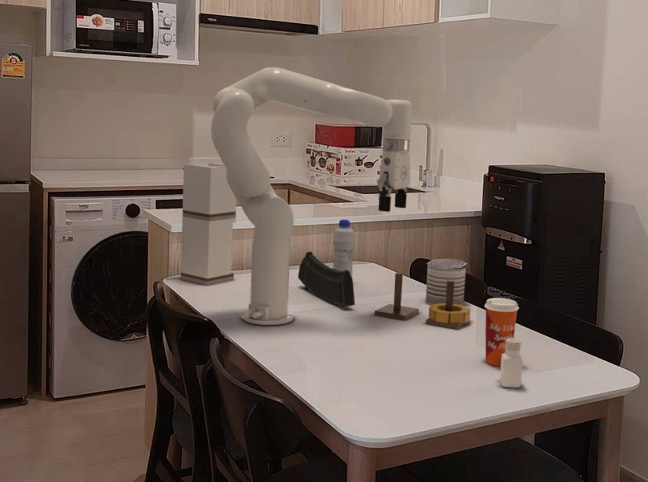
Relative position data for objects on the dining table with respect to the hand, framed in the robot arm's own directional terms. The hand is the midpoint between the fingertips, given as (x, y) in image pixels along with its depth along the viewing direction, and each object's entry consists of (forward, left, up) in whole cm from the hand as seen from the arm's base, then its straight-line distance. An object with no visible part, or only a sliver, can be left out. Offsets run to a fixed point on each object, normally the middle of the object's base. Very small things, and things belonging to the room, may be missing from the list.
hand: (392, 209), depth 221 cm
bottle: (+23, +27, -28) cm, 46 cm away
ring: (+1, -18, -27) cm, 33 cm away
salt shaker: (-37, -47, -28) cm, 66 cm away
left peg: (0, -3, -28) cm, 28 cm away
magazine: (+4, +22, -28) cm, 36 cm away
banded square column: (+2, +62, -28) cm, 68 cm away
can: (+20, -9, -28) cm, 36 cm away
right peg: (0, -18, -28) cm, 34 cm away
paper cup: (-24, -40, -28) cm, 55 cm away
